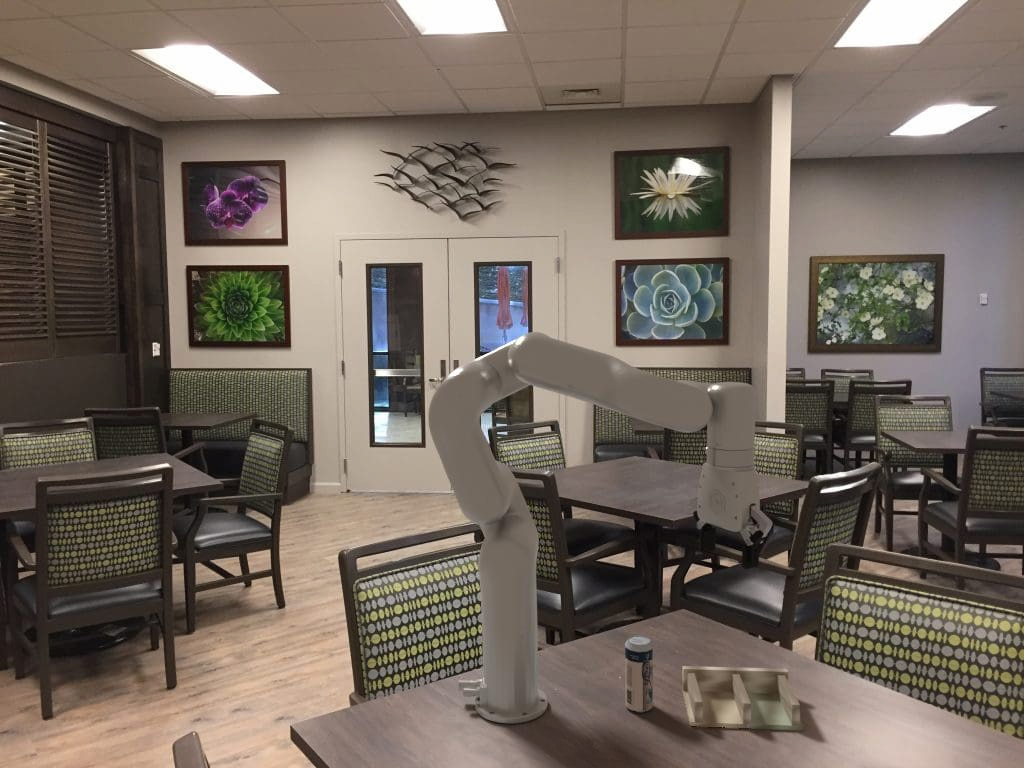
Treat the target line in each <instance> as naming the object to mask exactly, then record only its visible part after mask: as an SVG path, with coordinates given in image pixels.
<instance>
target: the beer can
mask: <svg viewBox="0 0 1024 768" xmlns="http://www.w3.org/2000/svg"><path fill="white" fill-rule="evenodd" d="M653 649H654V645H653V643H652V640H651V639H650V638H649V637H647V636H644V635H640V634H639V635H631V636H629V637H628V638H627V640H626V641H625V643H624V656H625V657H624V659H625V661H624V662H625V663H624V666H625V667H624V668H625V669H624V670H625V671H624V674H625V681H624V683H625V684H624V687H625V691H624V693H625V699H624V700H625V702H624V704H625V707H626V708H627V709H629V710H630V711H631V712H634V711H636V712H635V713H646V712H648V711H650V710H651V709H653V707H654V703H653V699H654V697H653V695H654V694H653V693H654V692H653V691H654V689H653V687H654V686H653V681H654V679H653V674H654V672H653V671H654V670H653V669H654V667H653V666H654V661H653V658H654V656H653V654H654V653H653V652H654V651H653ZM645 711H646V712H645Z"/></svg>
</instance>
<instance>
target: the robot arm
mask: <svg viewBox="0 0 1024 768" xmlns="http://www.w3.org/2000/svg"><path fill="white" fill-rule="evenodd" d="M529 386H533V387H536V388H539V389H543V390H546V391H550V392H552V393H553V392H554V393H557V394H559V395H563V396H567V397H570V398H573V399H576V400H580V401H582V402H586V403H589V404H592V405H595V406H598V407H600V408H602V409H605V410H608V411H609V410H610V411H613V412H616V413H619V414H623V415H625V416H628V417H631V418H633V419H636V420H640V421H643V422H647V423H649V424H653V425H656V426H659V427H661V428H662V427H663V428H666V429H669V430H673V431H676V432H680V433H695V432H698V431H701V430H702V429H703V428H707V429H706V431H707V433H706V447H705V449H704V452H705V453H706V462H703V465H702V468H701V469H702V470H701V473H700V478H699V484H698V494H697V495H698V496H696V497H693V498H691V499H690V501H689V503H690V506H691V509H692V515H693V517H694V519H695V521H696V528H697V529H698V530H699V538H698V539H699V543H698V544H699V545H698V551H699V553H700V554H706V553H709V552H713V551H716V543H717V542H716V541H717V540H716V538H717V531H716V530H717V529H716V527H718V528H721V529H724V530H727V531H731V532H734V533H735V532H740V534H741V537H742V538H743V540H744V542H745V543H744V544H742V546H741V547H742V548H741V551H742V552H741V557H742V558H741V567H742V569H744V570H749V569H753V568H757V567H759V564H760V544H762V543H764V540H765V539H766V538H768V536H769V533H770V530H771V528H772V526H773V521H772V520H771V518H770V517H768V516H767V515H766V514H765V513H764V512H763V511H762V510H761V507H760V505H761V504H760V503H761V502H760V488H759V478H758V474H757V473H758V471H757V469H756V468H755V445H756V443H755V441H756V439H755V438H756V436H755V435H756V434H755V433H756V407H757V406H756V400H757V399H756V398H757V397H756V396H757V395H756V389H755V387H754V386H753V385H751V384H749V383H746V382H738V381H724V382H721V381H720V382H715V383H712V382H702V381H693V380H688V379H687V380H686V379H680V380H673V379H670V378H667V377H663V376H660V375H656V374H654V373H650V372H648V371H645V370H642V369H640V368H638V367H635V366H633V365H630V364H628V363H626V362H625V361H623V360H621V359H620V358H617V357H615V356H612V355H610V354H607V353H604V352H600V351H597V350H594V349H590V348H587V347H584V346H579V345H576V344H573V343H570V342H566V341H563V340H559V339H556V338H553V337H550V336H549V335H547V334H546V333H543V332H539V331H532V332H526V333H524V334H522V335H521V336H519V337H517V338H516V339H513V340H512V341H510V342H508V343H507V344H504V345H503V346H500V347H498V348H496V349H494V350H492V351H490V352H488V353H486V354H484V355H482V356H479V357H477V358H476V359H473V360H470V361H469V362H466V363H465V364H462V365H461V366H458V367H456V368H455V369H454V370H453V371H451V372H450V373H449V374H448V375H447V376H446V377H445V378H444V379H443V380H442V382H441V383H440V384H439V385H438V387H437V388H436V390H435V392H434V393H433V396H432V398H431V400H430V403H429V404H430V405H429V407H428V427H429V431H430V436H431V439H432V441H433V443H434V446H435V450H436V451H437V453H438V456H439V458H440V460H441V464H442V467H443V469H444V471H445V474H446V477H447V478H448V480H449V481H448V482H449V483H450V486H451V488H452V491H453V493H454V496H455V499H456V501H457V504H458V506H459V509H460V510H461V513H462V514H463V516H464V517H465V518H466V519H467V520H469V522H471V523H473V524H475V525H477V526H479V527H480V530H481V532H482V534H483V537H484V539H483V541H482V544H481V548H480V551H479V554H478V555H479V556H478V575H479V576H478V578H479V586H480V603H481V604H480V605H481V611H480V612H481V634H482V635H481V636H482V637H481V639H482V677H481V678H480V677H478V678H477V679H476V680H474V679H473V680H472V679H463V678H462V679H458V692H462V696H463V697H465V698H466V697H475V698H474V708H475V711H476V712H477V714H478V715H480V717H482V718H484V719H486V720H488V721H491V722H495V723H500V724H519V723H526V722H530V721H532V720H535V719H537V718H539V717H540V716H542V715H543V714H544V713H545V712H546V711H547V709H548V697H547V694H546V693H545V692H544V691H543V690H541V689H540V688H539V650H538V649H539V646H538V645H539V643H538V642H539V641H538V602H537V601H538V597H537V558H538V550H539V545H540V544H539V542H540V541H539V538H540V537H539V532H538V529H537V526H536V523H535V521H534V519H533V516H532V514H531V512H530V509H529V507H528V505H527V502H526V500H525V497H524V495H523V493H522V490H521V488H520V485H519V483H518V481H517V479H516V477H515V475H514V473H513V472H512V471H511V469H510V468H509V467H508V466H507V465H506V464H504V463H502V462H501V461H498V460H496V458H495V457H494V454H493V452H492V450H491V447H490V446H491V445H490V443H489V441H488V439H487V436H486V435H485V433H484V431H483V429H482V426H481V423H480V419H481V415H482V414H483V413H484V412H485V411H486V410H487V409H489V408H490V407H491V406H492V405H493V404H494V403H497V402H499V401H501V400H503V399H505V398H506V397H508V396H511V395H513V394H515V393H517V392H519V391H522V390H523V389H526V388H528V387H529ZM706 426H707V427H706ZM714 526H715V527H714ZM749 531H750V532H749Z"/></svg>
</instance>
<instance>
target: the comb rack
mask: <svg viewBox="0 0 1024 768" xmlns="http://www.w3.org/2000/svg"><path fill="white" fill-rule="evenodd" d="M681 668H682V679H681V680H682V688H681V690H682V696H683V699H684V700H685V701H684V705H685V704H686V705H685V709H686V708H687V709H686V713H687V717H689V718H688V721H690V722H689V725H691V726H697V727H696V728H708V727H722V728H721V729H739V728H749V729H748V730H770V729H771V730H774V731H775V730H777V731H801V732H802V731H805V725H804V723H803V721H802V719H801V704H800V702H799V700H798V699H797V696H796V694H795V693H794V691H793V689H792V686H791V685H790V683H789V670H788V669H787V668H774V667H773V668H771V667H770V668H769V667H735V666H732V667H731V666H727V667H726V666H700V665H699V666H696V665H695V666H694V665H693V666H692V665H691V666H690V665H689V666H688V665H682V667H681ZM691 726H690V727H691ZM699 726H700V727H699ZM723 727H725V728H723ZM750 728H751V729H750Z"/></svg>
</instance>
